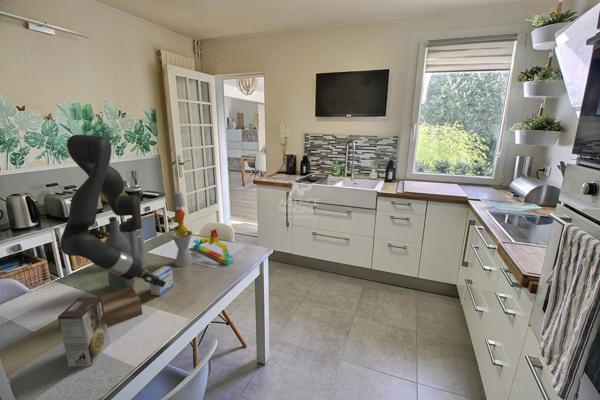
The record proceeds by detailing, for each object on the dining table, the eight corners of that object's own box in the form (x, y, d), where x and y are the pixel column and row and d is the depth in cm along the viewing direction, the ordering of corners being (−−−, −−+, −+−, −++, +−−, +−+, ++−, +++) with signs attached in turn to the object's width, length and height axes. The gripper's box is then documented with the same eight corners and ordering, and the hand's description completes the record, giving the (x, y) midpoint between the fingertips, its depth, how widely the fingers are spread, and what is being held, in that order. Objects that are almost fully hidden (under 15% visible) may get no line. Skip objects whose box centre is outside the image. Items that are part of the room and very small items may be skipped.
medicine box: (160, 296, 112) (158, 276, 110) (150, 294, 113) (148, 274, 111) (173, 285, 119) (172, 266, 117) (164, 284, 120) (162, 265, 118)
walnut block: (95, 312, 102) (93, 298, 100) (133, 300, 110) (131, 286, 108) (102, 330, 93) (99, 314, 92) (142, 314, 101) (140, 300, 100)
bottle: (141, 284, 120) (132, 216, 112) (119, 295, 112) (108, 222, 104) (126, 279, 124) (116, 212, 116) (104, 289, 115) (92, 219, 108)
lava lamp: (170, 263, 138) (163, 193, 130) (186, 256, 146) (181, 189, 137) (181, 268, 134) (175, 195, 125) (198, 261, 141) (193, 192, 132)
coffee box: (88, 343, 87) (79, 296, 83) (110, 342, 88) (102, 295, 84) (67, 367, 79) (56, 316, 75) (92, 366, 79) (82, 315, 75)
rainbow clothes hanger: (192, 249, 156) (190, 222, 152) (198, 247, 158) (196, 221, 155) (227, 266, 138) (226, 237, 134) (233, 263, 140) (231, 235, 136)
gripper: (139, 261, 99) (175, 279, 111) (122, 250, 108) (157, 267, 120) (125, 281, 96) (163, 297, 108) (108, 268, 105) (145, 284, 117)
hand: (159, 281), depth 114 cm, fingers closed on medicine box, 5 cm apart
